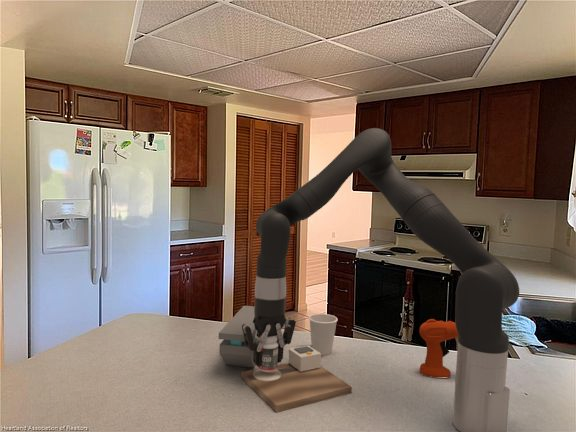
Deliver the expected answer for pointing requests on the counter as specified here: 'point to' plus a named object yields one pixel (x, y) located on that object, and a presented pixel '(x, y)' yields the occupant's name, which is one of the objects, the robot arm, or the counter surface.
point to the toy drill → (436, 346)
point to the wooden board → (294, 386)
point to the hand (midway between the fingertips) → (268, 363)
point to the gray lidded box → (237, 339)
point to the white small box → (304, 358)
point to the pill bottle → (269, 354)
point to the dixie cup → (322, 332)
